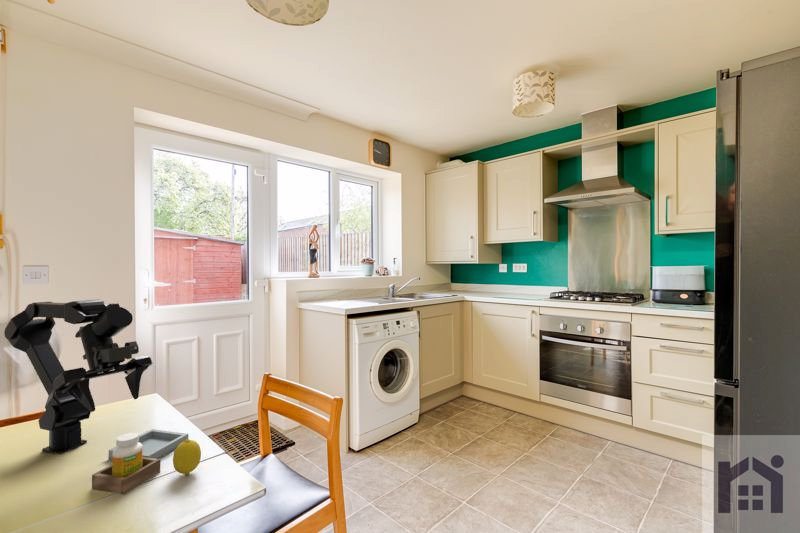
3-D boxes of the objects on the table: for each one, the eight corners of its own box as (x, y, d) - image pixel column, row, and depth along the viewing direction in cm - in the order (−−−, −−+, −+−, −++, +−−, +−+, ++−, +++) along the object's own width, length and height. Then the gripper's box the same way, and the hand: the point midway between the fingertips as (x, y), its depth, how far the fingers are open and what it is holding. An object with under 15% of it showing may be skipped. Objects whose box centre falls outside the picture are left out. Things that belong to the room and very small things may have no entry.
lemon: (188, 483, 79) (188, 446, 79) (166, 480, 80) (167, 444, 80) (206, 469, 85) (206, 435, 85) (186, 466, 86) (186, 432, 86)
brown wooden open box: (91, 488, 77) (91, 474, 77) (130, 467, 85) (130, 454, 85) (124, 494, 75) (124, 480, 75) (160, 472, 83) (160, 459, 83)
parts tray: (108, 459, 89) (108, 450, 89) (152, 436, 101) (152, 429, 101) (148, 465, 86) (148, 456, 86) (188, 441, 98) (188, 433, 98)
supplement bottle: (122, 490, 77) (123, 444, 77) (105, 484, 78) (106, 439, 79) (148, 476, 82) (148, 433, 82) (131, 471, 84) (132, 429, 84)
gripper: (68, 337, 79) (86, 404, 76) (155, 326, 96) (173, 381, 93) (44, 358, 83) (60, 423, 79) (132, 344, 100) (149, 397, 96)
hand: (115, 404), depth 87 cm, fingers open, 9 cm apart
